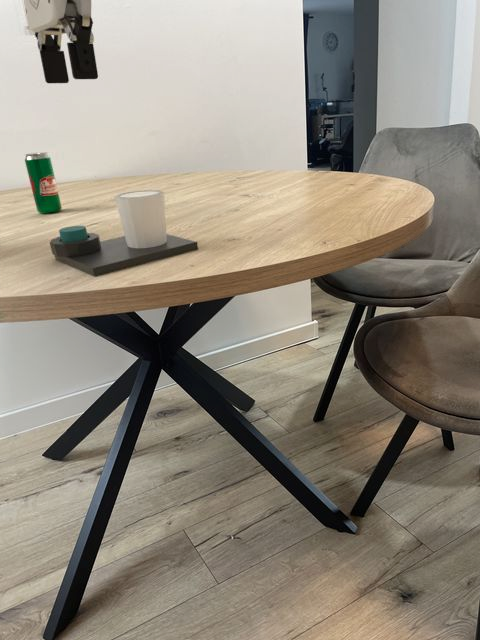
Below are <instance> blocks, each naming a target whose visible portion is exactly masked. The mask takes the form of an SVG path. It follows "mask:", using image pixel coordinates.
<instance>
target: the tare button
mask: <svg viewBox="0 0 480 640" xmlns="http://www.w3.org/2000/svg"><path fill="white" fill-rule="evenodd" d="M58 233H59V237H61V241H62V242H74V241H80V240H85V239H88V235H87V233H88V231H87V227H86V226H85V225H72V226H66V227H62V228H59V230H58Z"/></svg>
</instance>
